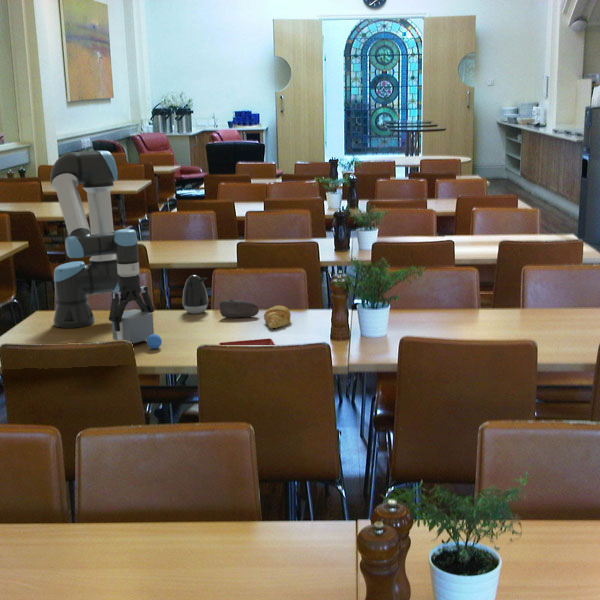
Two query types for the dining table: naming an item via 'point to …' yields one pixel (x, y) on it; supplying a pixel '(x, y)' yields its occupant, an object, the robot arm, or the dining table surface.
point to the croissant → (277, 316)
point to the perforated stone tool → (238, 308)
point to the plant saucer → (250, 342)
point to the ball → (154, 341)
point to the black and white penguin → (195, 295)
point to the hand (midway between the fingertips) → (133, 336)
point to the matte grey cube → (135, 325)
